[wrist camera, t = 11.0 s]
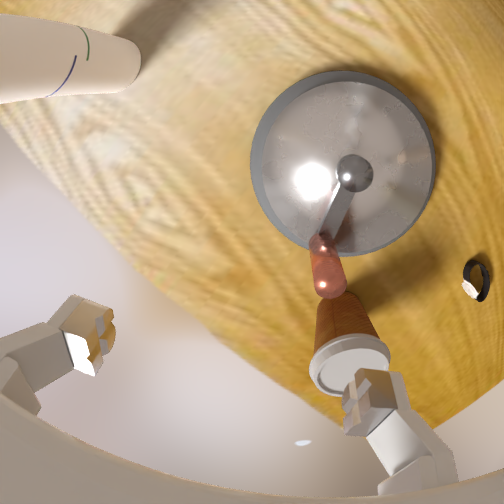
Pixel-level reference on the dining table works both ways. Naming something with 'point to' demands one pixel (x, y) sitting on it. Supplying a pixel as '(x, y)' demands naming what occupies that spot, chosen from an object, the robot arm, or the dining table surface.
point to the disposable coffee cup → (344, 344)
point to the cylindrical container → (61, 59)
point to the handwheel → (345, 173)
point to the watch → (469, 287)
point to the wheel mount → (285, 100)
